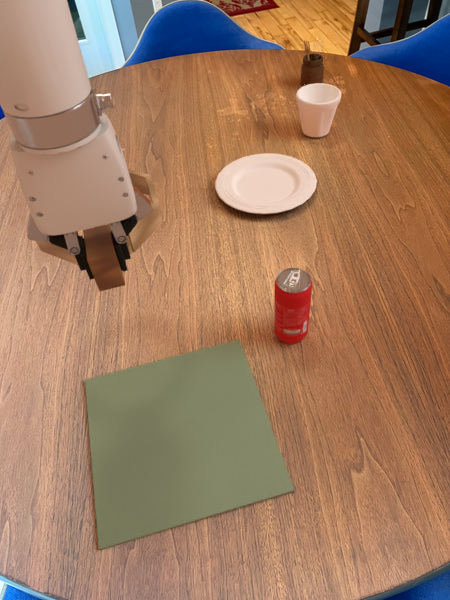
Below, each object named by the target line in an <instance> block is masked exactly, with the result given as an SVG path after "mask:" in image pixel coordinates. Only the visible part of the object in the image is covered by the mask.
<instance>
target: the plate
mask: <svg viewBox="0 0 450 600" xmlns="http://www.w3.org/2000/svg"><path fill="white" fill-rule="evenodd" d="M317 183H318V180H317V177H316V173H315V172H314V171H313V169H312V168H311V167H310V166H309V165H308V164H306V163H305V162H303V161H302V160H300V159H299V158H295V157H293V156H291V155H286V154H281V153H272V152H271V153H269V152H265V153H254V154H250V155H246V156H243V157H240V158H237V159H235V160H233V161H231V162H230V163H228V164H227V165H226V166H224V167H223V168H222V169H221V170H220V172H218V174H217V176H216V179H215V181H214V185H215V186H214V187H215V192H216V194H217V196H218V198H219V199H220V200H221V201H222V202H223V203H224V204H226V206H228V207H230V208H232V209H233V210H236V211H240V212H243V213H247V214H253V215H263V216H264V215H275V214H276V215H277V214H281V213H284V212H288V211H292V210H294V209H296V208H298V207H301V206H302V205H304V204H305V203H306V202H308V201H309V199H311V198H312V196H313V195H314V193H315V192H316V188H317Z"/></svg>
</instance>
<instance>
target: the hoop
mask: <svg viewBox="0 0 450 600" xmlns="http://www.w3.org/2000/svg"><path fill="white" fill-rule="evenodd" d="M128 171H129V174H130V177H131V181H132V183H133V184H134V185H135V186H136V187H137V188H138V189H139V190H140V191H141V192H142V193H143V194H144V195H145V196H146V195H147V196H148V197H149V200H150V201H151V204H152V208H153V210H152V212H151V213H150V214H148V215H147V216H146V217H144V218H143V219H142V220H139V221H138V222H137V224H136V226H135V227H134V228H133V230H132V231H131V232H130V234H129V235H128V236H127V241H126V242H127V246H128V249H129V253H130V255H132V254H133V253H136V252H137V251H138V250H139V249H140V248H141V246H142V245H143V244H144V243H145V242H146V241H147V240H148V239H149V238H150V237H151V236H152V235H153V234H154V233H155V232H156V230H157V229H158V228H159V227H160V226H161V225H162V224H163V223H164V217H163V212H162V207H161V203H160V199H159V196H158V193H157V191H156V188H155V184H154V181H153V178H152V175H150V174H149V173H146V172H142V171H138V170H134V169H131V168H128ZM111 232H112V231H111V228H110V226H109V224H105V225H103V226H98V227H93V228H88V229H84V230H82V233H83V235H82V236H83V238H84V242H85V249H86V256H87V261H88V264H89V266H90V269H91V271H92V274H93V276H94V279H93V280H94V281H95V284H96V285H97V289H98V291H99V292H103V291H109V290H112V289H116V288H120V287H124V286H126V280H125V276H124V272H123V271H122V270H121V267H120V264H119V261H118V258H117V255H116V252H115V249H114V245H113V240H112V235H111ZM35 242H36V244H37V246H38V249H39V250H40V251H41V252H42V253H45V254H48V255H50V256H53V257H56V258H58V259H61V260H63V261H66V262H68V263H72V264H74V265H76V266H79V265H78V263H77V260H76V258H75V256H74V255H72V254H70V253H69V251H68V250H67V249H64V248H61V247H59V246H56V245H53V244H51V243H50V242H41V241H35Z"/></svg>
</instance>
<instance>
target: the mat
mask: <svg viewBox="0 0 450 600" xmlns="http://www.w3.org/2000/svg"><path fill="white" fill-rule="evenodd" d="M247 358H248V357H247V355H246V353H245V351H244V347H243V345H242V342H241V340H240V338H239V339H235V340H232V341H227V342H224V343H220V344H216V345H212V346H209V347H205V348H201V349H197V350H193V351H190V352H185V353H181V354H177V355H174V356H170V357H166V358H163V359H159V360H154V361H151V362H146V363H142V364H140V365H134V366H132V367H127V368H124V369H123V368H122V369H120V370H117V371H116V370H115V371H112V372H109V373H104V374H100V375H97V376H93V377H89V378H85V379H84V385H85V386H84V387H85V388H84V389H85V401H86V412H87V423H88V435H89V436H88V437H89V449H90V460H91V473H92V484H93V485H92V486H93V498H94V509H95V510H94V511H95V524H96V532H97V533H96V534H97V546H98V547H97V548H98V550H99V551H102V550H105V549H109V548H111V547H115V546H119V545H122V544H125V543H128V542H131V541H134V540H137V539H141V538H144V537H148V536H151V535H154V534H158V533H161V532H165V531H168V530H170V529H174V528H177V527H181V526H184V525H188V524H191V523H194V522H197V521H201V520H203V519H208V518H210V517H213V516H217V515H220V514H224V513H227V512H230V511H234V510H237V509H240V508H243V507H246V506H251V505H253V504H257V503H261V502H263V501H267V500H270V499H273V498H276V497H277V498H278V497H280V496H283V495H286V494H290V493H293V492H295V488H294V486H293V482H292V480H291V477H290V475H289V471H288V469H287V466H286V463H285V460H284V458H283V455H282V453H281V449H280V447H279V444H278V441H277V439H276V436H275V433H274V430H273V427H272V424H271V422H270V419H269V417H268V414H267V411H266V408H265V405H264V403H263V400H262V397H261V394H260V391H259V389H258V386H257V383H256V380H255V377H254V375H253V372H252V369H251V366H250V364H249V361H248V359H247Z"/></svg>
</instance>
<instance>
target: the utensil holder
mask: <svg viewBox="0 0 450 600" xmlns="http://www.w3.org/2000/svg"><path fill="white" fill-rule="evenodd" d="M318 42H320V44H318ZM303 44H304V52H305V55H304V56H303V58H302V64H301V67H300V86H301V87H303V86H306V85H309V84H315V83H323V82H324V74H325V71H324V70H325V69H324V68H325V66H324V56H323V55H322V50H324V49H323V48H324V47H321V46H324V40H323V39H322V38H321V37H319V39H318V38H316V39H315V41H314V44H313V53H311V44H310V41H307V40H305V39H304V41H303ZM316 47H319V50H317V48H316ZM315 50H317V52H315ZM320 51H321V52H320ZM304 84H305V85H304Z"/></svg>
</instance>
